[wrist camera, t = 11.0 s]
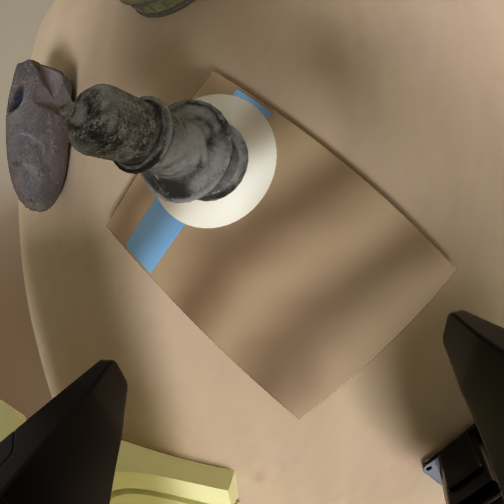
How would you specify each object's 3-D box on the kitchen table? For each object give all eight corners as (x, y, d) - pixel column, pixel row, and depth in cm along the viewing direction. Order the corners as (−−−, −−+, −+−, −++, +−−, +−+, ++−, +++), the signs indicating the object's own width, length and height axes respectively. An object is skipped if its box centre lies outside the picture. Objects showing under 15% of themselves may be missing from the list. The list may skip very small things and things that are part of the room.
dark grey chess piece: (230, 101, 19) (106, 3, 8) (269, 178, 19) (146, 120, 7) (159, 147, 21) (12, 104, 9) (189, 221, 20) (30, 225, 9)
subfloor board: (451, 267, 17) (457, 269, 16) (301, 412, 20) (298, 420, 19) (214, 73, 20) (208, 67, 19) (111, 221, 24) (102, 222, 23)
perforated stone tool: (79, 208, 25) (16, 208, 19) (47, 215, 27) (-9, 216, 20) (88, 62, 24) (38, 40, 18) (56, 81, 26) (9, 64, 19)
